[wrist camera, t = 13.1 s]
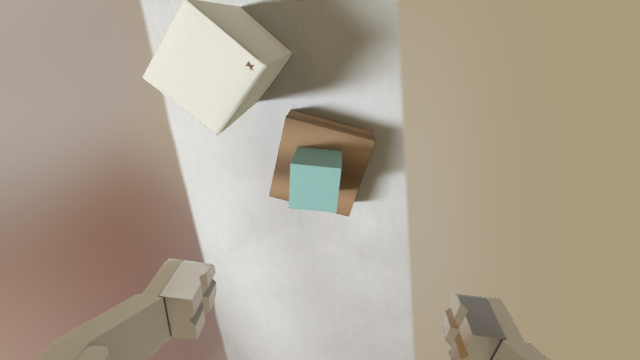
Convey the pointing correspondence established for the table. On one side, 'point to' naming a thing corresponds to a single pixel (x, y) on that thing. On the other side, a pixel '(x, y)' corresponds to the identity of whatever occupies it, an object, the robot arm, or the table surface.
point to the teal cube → (315, 179)
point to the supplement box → (215, 62)
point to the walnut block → (323, 136)
